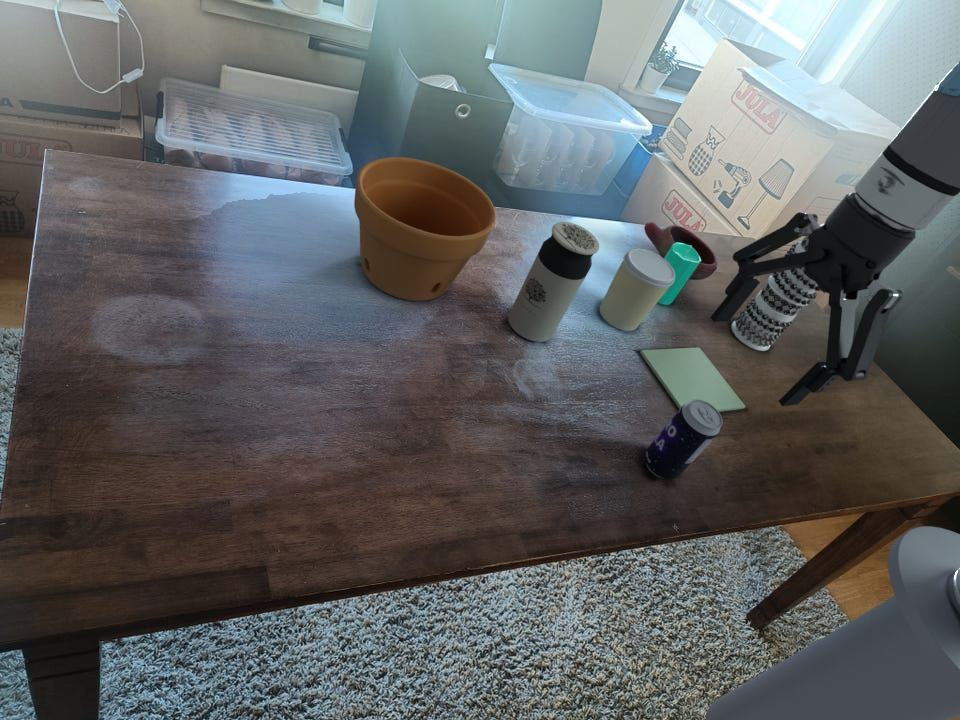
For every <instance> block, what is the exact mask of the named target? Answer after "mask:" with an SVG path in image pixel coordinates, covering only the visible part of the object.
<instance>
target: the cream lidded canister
mask: <svg viewBox="0 0 960 720" xmlns="http://www.w3.org/2000/svg"><path fill="white" fill-rule="evenodd" d="M622 259H623V260H622V261H621V263H620V265H619V267H618V269H617V271H616V273H615V275H614V277H613V279H612V281H611V283H610V285H609V286H608V289H607V291H606V293H605V295H604V297H603V299H602V301H601V303H600V306H599V313H600V315H601V317H602V318H603V319H604V321H605V322H606V323H608V324H609V325H610V326H612V327H614V328H616V329H618V330H621V331H625V332H631V331H632V332H633V331H634V330H636V329H637V328H638V327H639V326H640V325H641V324H642V323H643V321H644V320H645V319H646V317H647V316H648V315H649V313H650V312H651V311H652V310H653V309H654V307H655V306H656V305H657V304H658V301H659V300H660V298H661V297H662V296H663V294H664V293H665V292H666V291H667V289H668V288H669V287H670V286H671V285H672V284H673V283H674V280H675V272H674V269H673V268H672V266H671V265H670V264H669V263H668V262H667V261H666V260H665V259H663V258H662V257H661V256H660V254H657V253H655V252H654V251H651V250H649V249H645V248H632V249H630V250H629V251H627V252H626V253H625V254H624V256H623V258H622Z"/></svg>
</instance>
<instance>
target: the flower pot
mask: <svg viewBox="0 0 960 720" xmlns="http://www.w3.org/2000/svg"><path fill="white" fill-rule="evenodd" d="M353 201H354V203H353V204H354V211H355V215H356V217H357V218H358V223H359V224H358V225H359V226H358V227H359V251H360V264H361V269H362V271H363V274H364V275H365V277H366V278H367V280H368V281H369V282H370V283H371V284H372V285H374V287H376V288H377V289H379V290H381V291H382V292H383V293H386V294H387V295H389V296H392V297H395V298H397V299H401V300H404V301H405V300H406V301H411V302H425V301H426V302H427V301H430V300H435V299H437V298H439V297H441V296H443V294H445V293H446V292H447V291H448V289H449V288H450V286H452V284H453V283H454V281H456V278H457V277H458V276H459V274H460V273H461V272H462V270H463V269H464V267H465V266H466V265H467V263H468V262H469V261H470V259H471V258H472V257H473V256H475V255H477V254H478V253H479V252H480V251H481V250H482V249H483V248H484V246H485V245H486V243H487V241H488V239H489V237H490V235H491V233H492V231H493V229H494V227H495V224H496V221H497V211H496V207H495V206H494V204H493V202H492V200H491V199H490V197H489V196H488V195H487V193H486V192H484V190H483V189H481V188H480V187H479V186H478V185H477V184H475V183H474V182H473V181H471V180H470V179H468V178H466V177H465V176H463V175H461V174H460V173H458V172H456V171H454V170H452V169H449V168H447V167H445V166H443V165H439V164H436V163H434V162H431V161H426V160H423V159H417V158H411V157H403V156H391V157H390V156H389V157H382V158H378V159H374V160H371V161H369V162H367V163H366V164H364V165H363V166H362V167H361V168H360V170H359V171H358V173H357V176H356V181H355V189H354V200H353Z"/></svg>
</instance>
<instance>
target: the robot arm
mask: <svg viewBox="0 0 960 720" xmlns="http://www.w3.org/2000/svg"><path fill="white" fill-rule="evenodd" d="M853 187H854V192H850V193H847V194H845V196H844V197H843V198H842V199H841V200H840V202H838V204H837V205H836V206H835V208H834V209H833V210H832V211H831V213H829V215H828V216H827V217H826V219H825V222H824V223H823V224H824V225H823V226H820V225H821V224H819V223H818V220H819V217H818V215H817V214H816V213H810V212H801V211H800V212H797V213H795V214H794V215H793V216H792V217H791V218H790V219H789V221H788V222H787V223H785V225H783V226H781V227H780V228H777V229H776V230H773V231H772V232H770V233H768V234H766V235H764V236H763V237H761V238H759V239H757V240H755V241H754V242H752V243H750V244H748V245H746V246H744V247H742V248H740V249H738V250H736V251H735V252H734V253H733V254H732V260H733V262H736V263H737V266H738V272H737V273H736V275H735V276H734V278H733V279H732V280H731V282H730V283H729V284H728V285H727V287H725V290H724V294H725V295H726V296H725V298H724V299H723V301H722V302H721V303H720V305H719V306H718V307H717V308H716V310H714V312H713V313H712V314H711V316H710V317H709V318H710V320H711V321H712V322H713V323H726V322H727V323H729V322H730V321H731V319H732V318H733V317H734V315H735V314H736V313H737V312H738V311H739V310H740V309H741V307H742V306H743V305H744V303H745V302H746V301H747V299H749V297H750V296H751V294H753V292H754V291H755V290H756V288H757V287H758V286H759V285H760V284H761V281H759V280H758V278H755V277H761V276H764V275H768V274H769V275H770V274H774V273H776V272H781V271H786V270H792V269H797V268H802V267H805V270H806V273H805V275H806V276H807V277H808V278H810V279H812V280H813V281H815V282H816V284H817V285H818V287H819V288H820V289H821V290H822V291H821V292H822V293H824V294H828V306H829V307H830V314H829V324H828V335H827V347H826V357H825V361H817V362H815V364H814V365H813V366H812V367H811V368H810V369H808V371H806V372H805V374H804V375H803V376H801V378H800V379H799V380H798V381H797V382H795V384H794V385H792V387H791V388H790V389H789V390H788V391H787V392H785V394H784V395H783V396H782V397H781V398H780V399H778V403H779V404H780V405H781V406H782V407H787V406H796V405H799V404H800V403H801V402H802V401H803V400H804V399H806V397H807V396H808V395H809V394H811V393H812V394H815V393H816V394H817V393H821V392H824V391H826V390H827V389H828V388H829V387H830V386H831V385H832V384H833V383H834V382H835V381H836V380H838V379H839V378H840V377H841V378H842V380H843V381H845V382H856V381H857V382H858V381H864V380H865V379H867V377H868V375H869V372H870V369H871V366H872V363H873V360H874V358H875V355H876V352H877V349H878V346H879V344H880V341H881V338H882V335H883V333H884V331H885V328H886V324H887V322H888V320H889V317H890V314H891V312H892V311H893V310H894V309H895V307H896V306H897V305H898V304H899V303H900V301H901V300H902V299H903V297H904V294H903V291H902V290H901V289H899V288H891V287H890V286H889V285H887V284H886V283H884V281H881V280H880V278H881V274H882V272H883V271H884V270H885V269H886V268H887V267H888V266H889V265H891V263H893V262H894V261H895V260H896V259H897V258H898V257H899V255H901V253H902V252H903V251H905V249H907V247H908V246H910V245H911V243H912V242H913V241H914V240H915V239H916V234H917V231H922V230H924V229H926V228H927V227H928V226H929V225H930V224H931V223H932V222H933V221H934V219H936V218H937V216H938V215H939V214H940V213H941V212H942V211H943V210H944V209H945V208H946V207H947V205H948V204H950V202H951V201H952V200H953V199H954V198H955V197H956V196H957V195H959V194H960V60H959V61H957V63H956V64H955V65H954V66H953V67H952V68H951V69H950V70H949V72H948V73H947V74H946V75H945V76H944V77H943V78H942V79H941V80H940V81H938V82H937V83H936V84H935V86H934V88H933V90H932V91H931V92H930V93H929V94H928V96H927V97H926V98H925V99H924V101H923V102H922V103H921V104H920V105H919V107H917V109H916V110H915V112H913V114H912V115H911V116H910V118H908V120H907V121H906V123H905V124H904V125H903V126H902V127H901V129H900V130H899V131H898V132H897V134H896V135H895V136H894V137H893V138H892V140H891V141H890V142H889V144H887V146H886V147H885V148H884V150H882V152H881V153H880V154H879V155H878V157H876V159H875V160H874V161H873V162H872V163H871V165H870V166H869V168H868V169H866V171H865V172H864V173H863V175H862V176H860V178H859V179H858V181H856V183H854V185H853ZM808 235H810V236H809V241H808V247H807V251H805V252H800V253H796V254H791V255H789V256H785V255H784V256H785V257H784V256H781V257H775V258H772V259H767V260H763V261H762V260H761V261H757V262H755V261H756V260H759V259H760V258H763V257H765V256H767V255H768V254H771V253H772V252H774V251H777V250H779V249H780V248H783V247H784V246H786V245H788V244H790V243H792V242H794V241H796V240H798V239H800V238H801V237H806V236H808ZM865 290H868V292H869V293H868V295H867V296H866V301H867V302H868V303H867V304H866V306H865V308H864V310H863V312H862V315H861V318H860V321H859V323H858V326H857V329H856V332H855V322H856V313H857V308H858V307H859V306H860V302H861V301H860V300H861V291H865ZM844 295H845V297H844ZM854 334H855V335H854ZM946 587H947V593H948V597H949V600H950V602H951V605H952V607H953V609H954V611H955V613H956V614H957V616H958V618H959V619H960V568H959V569H958V570H956V571H954V572H952V573H951V574H950V575H949V576H948V579H947V584H946Z"/></svg>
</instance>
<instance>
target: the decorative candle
mask: <svg viewBox="0 0 960 720" xmlns="http://www.w3.org/2000/svg"><path fill="white" fill-rule="evenodd" d="M824 224H825V223H822V224H819V225H820V226H823V225H824ZM809 236H810V235H808V236H804V238H802V239H801V240H800V241H799V242H796V243H792V244H791V247H789V250H787V251H786V253H785V254H784V255H783V257H785V256H789V255H791V254H796V253H800V252H805V251H807V247H808V241H809ZM805 273H806V270H805V267H802V268H797V269H792V270H786V271H781V272H776V273H772V275H770V276H769V277H768V279H767V283H766V284H765V286H764V287H763V288H762V289H760V290H759V292H758V293H757V294H756V295H754V296H752V298H751V299H750V302H748V303H747V304H746V305H745V308H743V309H742V310H741V311H740V312H739V314H737V316H736V318H735V319H734V320H733V321H732V323H731V325H730V327H731V331H732V333H733V334H734V336H735V338H737V339H738V340H739V341H740V342H741V343H742V344H744V345H746V346H747V347H749V348H751V349H753V350H755V351H760V352H761V351H762V352H765V351H768V350H769V349H770V348H771V346H773V345H774V343H776V340H779V337H781V335H782V334H781V333H785V331H787V328H788V327H790V326H791V325H792V323H793V320H794V319H795V318H796V317H797V315H798V312H800V311H801V309H802V308H803V307H806V306H808V305H810V304H811V300H815V299H816V298H817V295H818V294H817V292H823V291H822V290H821V289H820V288H819V287H818V285H817V284H816V282H815V281H813V280H812V279H810V278H808V277H807V276H806V275H805ZM816 291H817V292H816Z"/></svg>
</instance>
